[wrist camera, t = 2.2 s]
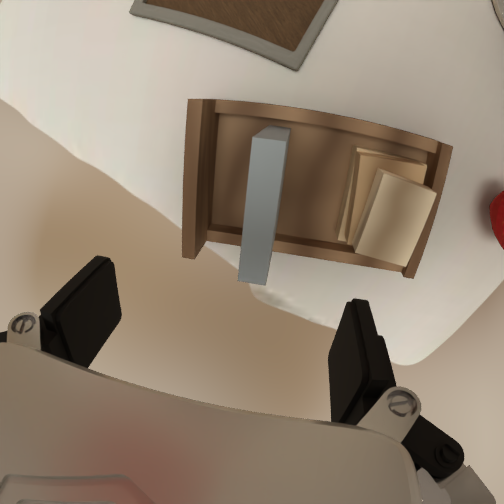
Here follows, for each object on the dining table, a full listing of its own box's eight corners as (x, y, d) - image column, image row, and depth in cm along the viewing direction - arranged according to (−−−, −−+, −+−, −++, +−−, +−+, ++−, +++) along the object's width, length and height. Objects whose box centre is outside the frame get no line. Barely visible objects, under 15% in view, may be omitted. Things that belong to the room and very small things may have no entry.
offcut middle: (417, 161, 24) (426, 166, 22) (401, 240, 28) (408, 251, 26) (355, 151, 25) (360, 155, 23) (344, 234, 29) (347, 244, 27)
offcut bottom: (419, 160, 26) (427, 165, 24) (397, 242, 30) (402, 251, 28) (353, 144, 27) (357, 147, 25) (335, 231, 31) (337, 240, 29)
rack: (436, 140, 26) (468, 152, 20) (403, 260, 32) (422, 295, 26) (211, 99, 28) (187, 99, 21) (203, 227, 34) (182, 257, 28)
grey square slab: (290, 128, 27) (286, 141, 17) (276, 225, 32) (265, 285, 22) (269, 125, 27) (252, 137, 17) (257, 222, 32) (237, 280, 22)
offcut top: (428, 186, 23) (436, 193, 21) (399, 256, 26) (405, 266, 25) (377, 167, 23) (384, 173, 21) (351, 242, 26) (355, 252, 25)
